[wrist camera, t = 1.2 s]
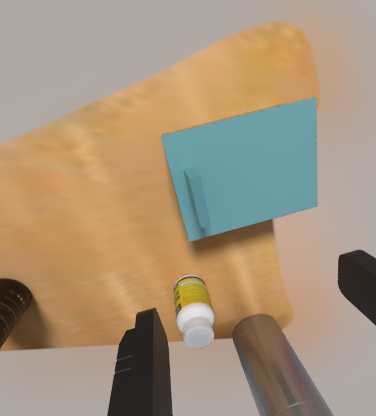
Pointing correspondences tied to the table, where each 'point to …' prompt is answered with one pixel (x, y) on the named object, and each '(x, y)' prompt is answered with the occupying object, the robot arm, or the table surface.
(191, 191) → the teal lid
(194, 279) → the supplement bottle
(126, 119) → the table surface
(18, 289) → the supplement bottle
